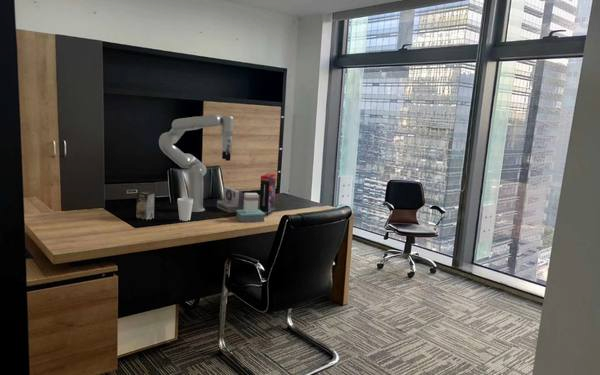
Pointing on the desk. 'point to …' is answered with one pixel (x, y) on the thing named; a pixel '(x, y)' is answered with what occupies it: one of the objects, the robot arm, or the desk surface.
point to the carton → (251, 202)
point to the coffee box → (145, 205)
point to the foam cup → (185, 208)
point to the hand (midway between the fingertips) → (226, 159)
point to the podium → (250, 216)
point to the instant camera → (231, 200)
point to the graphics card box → (267, 193)
